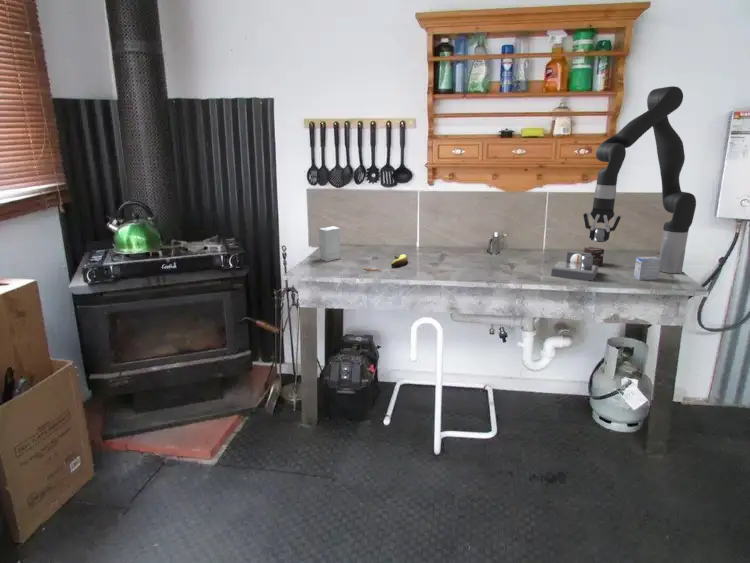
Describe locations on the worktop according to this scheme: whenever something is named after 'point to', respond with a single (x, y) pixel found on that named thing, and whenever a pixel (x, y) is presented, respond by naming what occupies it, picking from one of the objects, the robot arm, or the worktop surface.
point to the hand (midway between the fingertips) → (598, 240)
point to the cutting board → (395, 262)
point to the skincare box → (329, 243)
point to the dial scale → (574, 268)
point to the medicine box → (647, 268)
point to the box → (595, 255)
